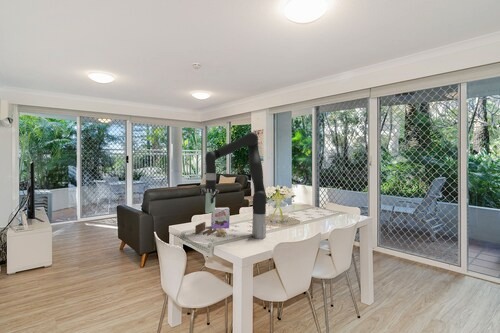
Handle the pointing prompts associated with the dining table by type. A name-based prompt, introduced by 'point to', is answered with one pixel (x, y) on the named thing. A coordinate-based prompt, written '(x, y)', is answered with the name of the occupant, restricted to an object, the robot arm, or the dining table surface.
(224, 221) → the candy box
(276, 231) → the dining table surface
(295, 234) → the dining table surface
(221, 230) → the offcut top
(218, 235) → the board
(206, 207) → the sage sheet
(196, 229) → the walnut rack
